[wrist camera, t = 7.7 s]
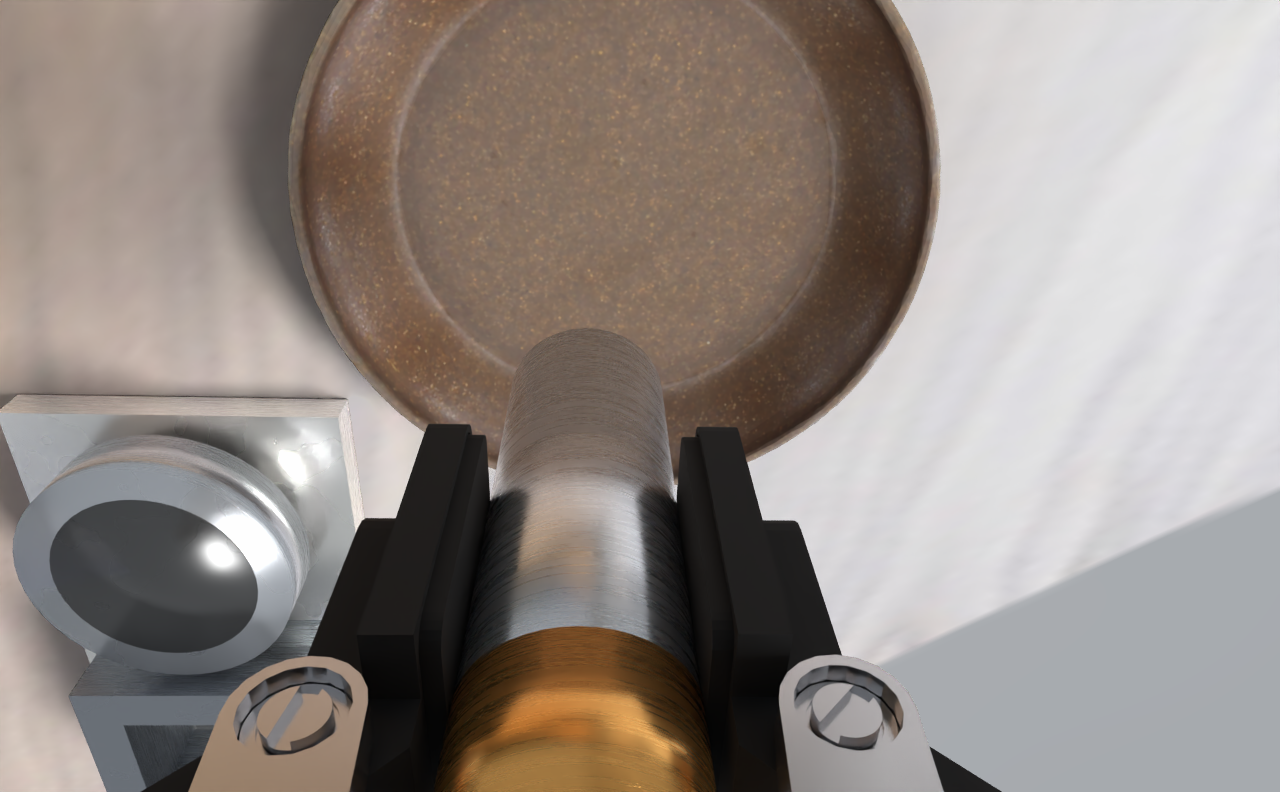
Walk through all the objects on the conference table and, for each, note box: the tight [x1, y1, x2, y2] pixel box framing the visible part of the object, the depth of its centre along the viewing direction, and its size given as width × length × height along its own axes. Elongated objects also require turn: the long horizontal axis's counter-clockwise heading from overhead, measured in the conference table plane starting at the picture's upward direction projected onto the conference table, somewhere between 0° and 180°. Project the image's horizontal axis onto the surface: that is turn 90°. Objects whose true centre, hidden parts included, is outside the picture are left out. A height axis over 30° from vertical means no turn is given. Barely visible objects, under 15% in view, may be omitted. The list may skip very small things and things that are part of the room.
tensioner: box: [0, 395, 365, 792], centre depth 26 cm, size 14×9×4 cm, turn 178°
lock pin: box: [433, 328, 716, 792], centre depth 11 cm, size 3×3×9 cm
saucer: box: [288, 0, 941, 485], centre depth 21 cm, size 15×15×3 cm
